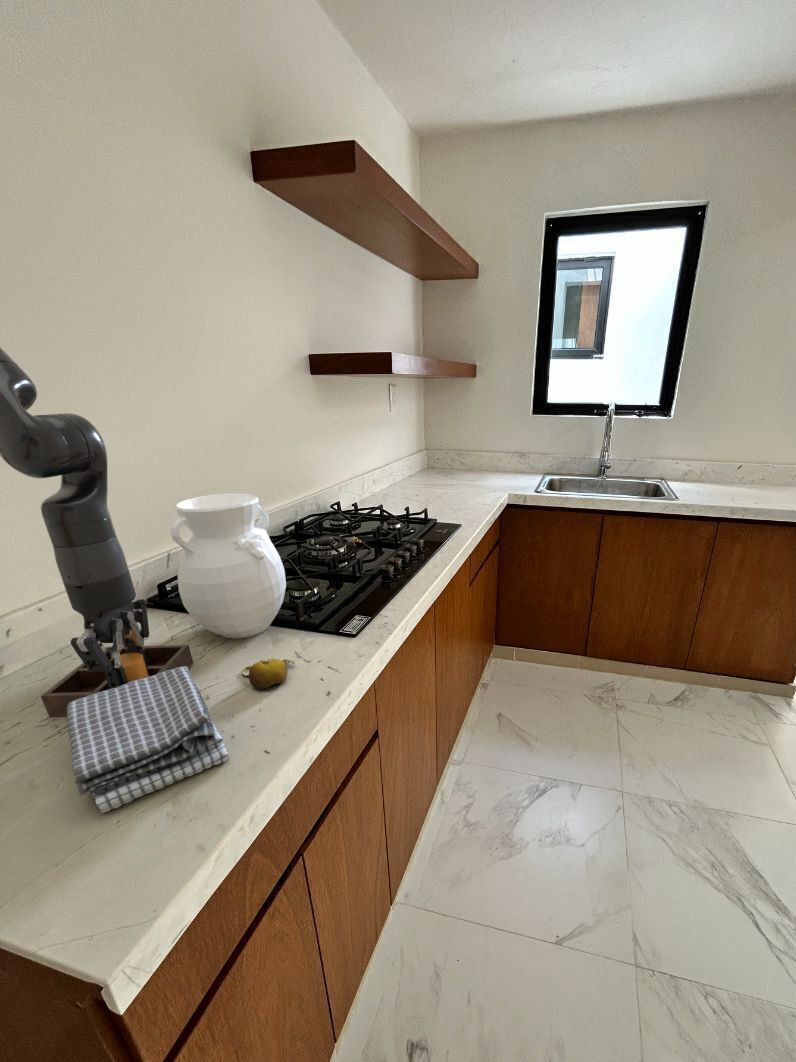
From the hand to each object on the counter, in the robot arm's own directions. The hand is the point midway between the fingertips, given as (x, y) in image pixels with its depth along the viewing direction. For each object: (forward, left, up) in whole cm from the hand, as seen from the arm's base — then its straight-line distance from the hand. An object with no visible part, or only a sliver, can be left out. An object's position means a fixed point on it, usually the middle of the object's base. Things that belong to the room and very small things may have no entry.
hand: (130, 678), depth 74 cm
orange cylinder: (0, 0, -1) cm, 1 cm away
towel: (+9, -12, -4) cm, 15 cm away
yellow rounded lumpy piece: (+19, +6, -4) cm, 20 cm away
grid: (-3, +3, -4) cm, 6 cm away
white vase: (+8, +24, -4) cm, 25 cm away
